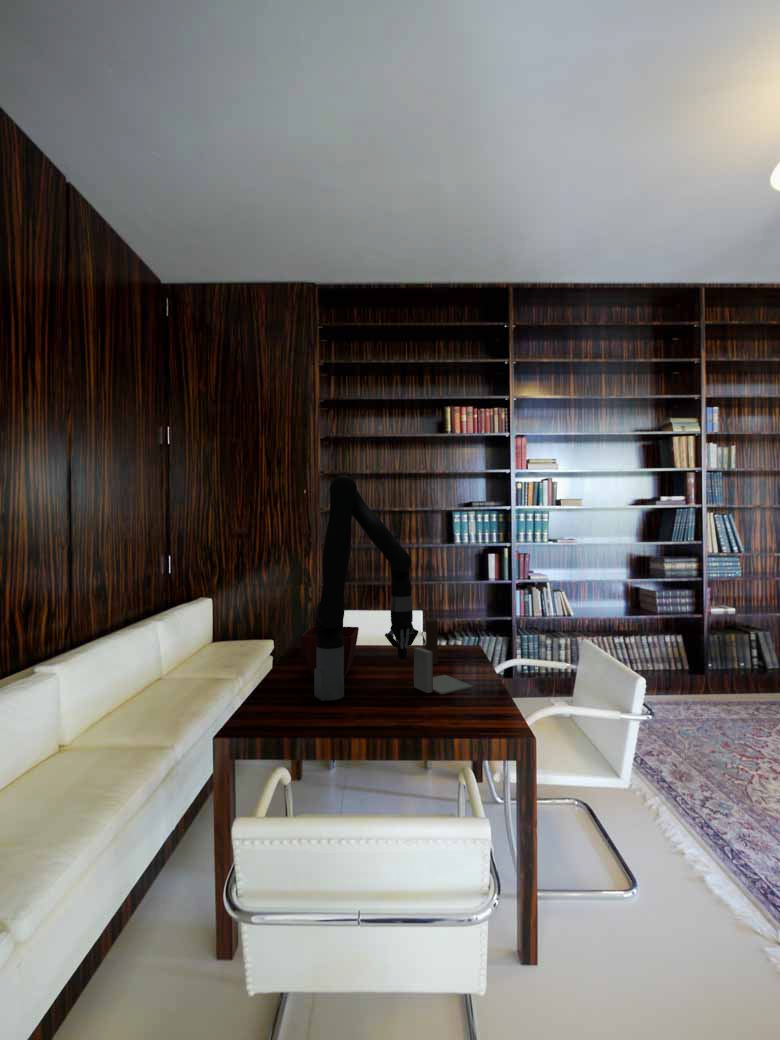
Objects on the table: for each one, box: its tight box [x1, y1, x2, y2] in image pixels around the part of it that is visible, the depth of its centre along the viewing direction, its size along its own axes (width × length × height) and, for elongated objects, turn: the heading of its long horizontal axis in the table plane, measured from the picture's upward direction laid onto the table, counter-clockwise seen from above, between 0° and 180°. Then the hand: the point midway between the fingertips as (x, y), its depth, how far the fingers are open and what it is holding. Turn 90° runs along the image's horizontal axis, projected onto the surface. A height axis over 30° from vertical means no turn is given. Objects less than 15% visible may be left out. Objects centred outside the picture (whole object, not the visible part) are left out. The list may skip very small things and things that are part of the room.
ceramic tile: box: [413, 647, 434, 694], centre depth 189 cm, size 2×8×14 cm, turn 32°
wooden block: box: [423, 618, 439, 665], centre depth 223 cm, size 9×4×18 cm, turn 92°
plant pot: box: [301, 625, 360, 679], centre depth 208 cm, size 19×19×17 cm
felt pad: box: [433, 674, 474, 696], centre depth 193 cm, size 14×16×1 cm
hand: (402, 658), depth 184 cm, fingers closed
